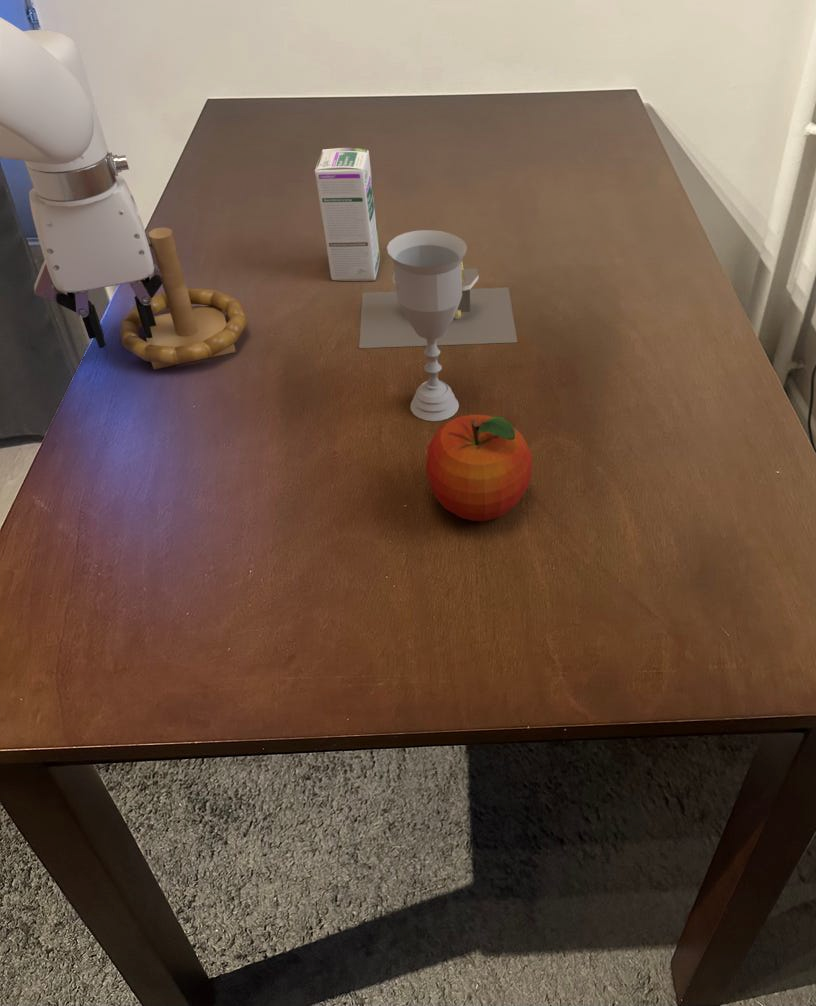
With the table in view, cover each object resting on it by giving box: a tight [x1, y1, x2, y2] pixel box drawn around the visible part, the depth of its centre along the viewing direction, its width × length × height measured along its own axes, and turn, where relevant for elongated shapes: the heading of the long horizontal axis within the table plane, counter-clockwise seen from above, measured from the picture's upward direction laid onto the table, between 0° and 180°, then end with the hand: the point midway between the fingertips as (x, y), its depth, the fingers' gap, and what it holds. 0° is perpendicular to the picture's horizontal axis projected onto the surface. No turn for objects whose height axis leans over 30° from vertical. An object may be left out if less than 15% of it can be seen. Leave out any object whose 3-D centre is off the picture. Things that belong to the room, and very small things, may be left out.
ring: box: [119, 287, 248, 365], centre depth 100 cm, size 14×14×2 cm
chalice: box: [386, 229, 468, 422], centre depth 87 cm, size 7×7×18 cm
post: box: [144, 226, 236, 370], centre depth 97 cm, size 9×9×13 cm
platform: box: [358, 261, 518, 349], centre depth 103 cm, size 12×18×7 cm, turn 94°
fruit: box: [425, 414, 533, 522], centre depth 79 cm, size 10×10×10 cm
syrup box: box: [314, 147, 381, 282], centre depth 108 cm, size 6×6×14 cm
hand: (124, 335), depth 99 cm, fingers open, 4 cm apart
